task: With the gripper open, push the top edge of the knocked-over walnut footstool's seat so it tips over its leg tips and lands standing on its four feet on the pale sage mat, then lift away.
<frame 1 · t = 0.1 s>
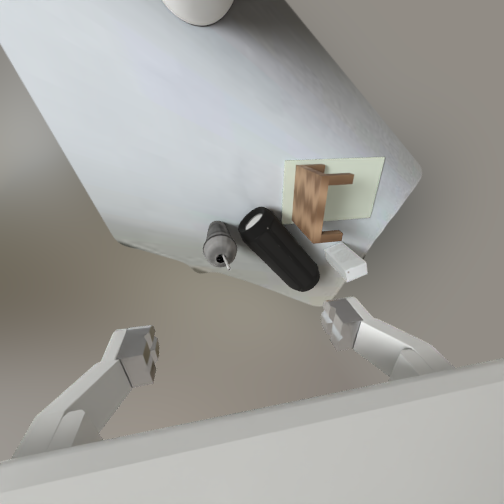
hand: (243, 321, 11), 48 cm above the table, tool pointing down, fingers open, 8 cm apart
beverage cup: (217, 228, 60), on the table
portable speaker: (276, 243, 65), on the table
mat: (330, 191, 60), on the table
stool: (306, 193, 59), resting on mat
skincare box: (333, 250, 70), on the table
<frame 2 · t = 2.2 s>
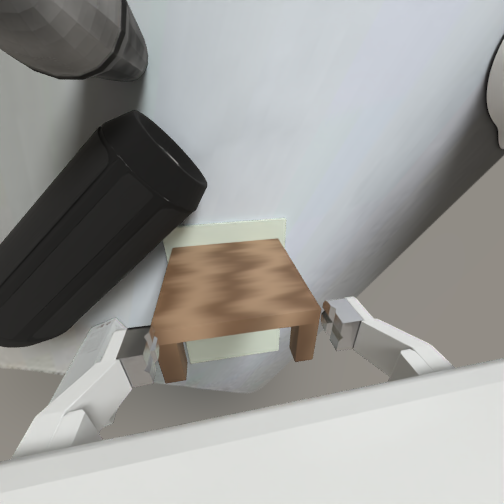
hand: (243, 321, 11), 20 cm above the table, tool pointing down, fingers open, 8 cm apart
beverage cup: (121, 50, 21), on the table
portable speaker: (106, 221, 28), on the table
mat: (231, 300, 36), on the table
stool: (228, 263, 32), resting on mat
skincare box: (116, 333, 36), on the table
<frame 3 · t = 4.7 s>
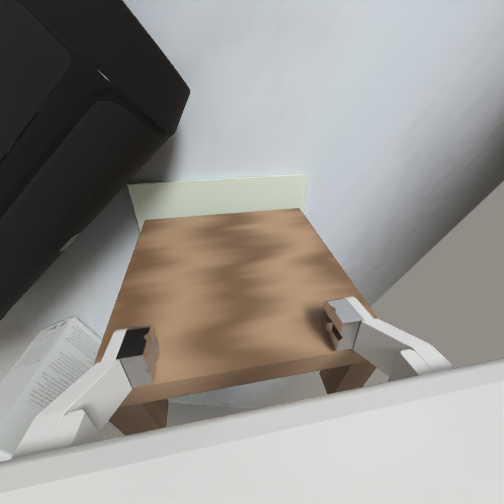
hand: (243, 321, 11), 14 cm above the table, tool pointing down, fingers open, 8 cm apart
portable speaker: (46, 172, 19), on the table
mat: (231, 291, 27), on the table
stool: (227, 242, 23), point 1 cm above the table, tilted 10°, touching gripper, mat
skincare box: (78, 337, 27), on the table
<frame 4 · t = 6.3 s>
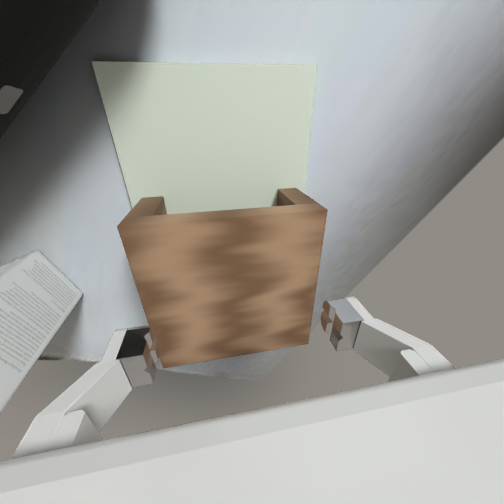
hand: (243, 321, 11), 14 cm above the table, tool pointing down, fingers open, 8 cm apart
mat: (225, 227, 23), on the table
stool: (225, 203, 18), point 4 cm above the table, tilted 90°, touching mat
skincare box: (45, 280, 23), on the table
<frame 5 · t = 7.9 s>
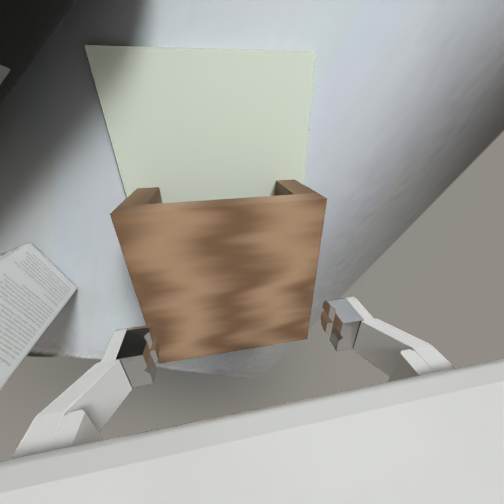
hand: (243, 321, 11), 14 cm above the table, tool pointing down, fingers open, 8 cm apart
mat: (222, 220, 23), on the table
stool: (222, 193, 18), point 4 cm above the table, tilted 90°, touching mat
skincare box: (38, 273, 22), on the table
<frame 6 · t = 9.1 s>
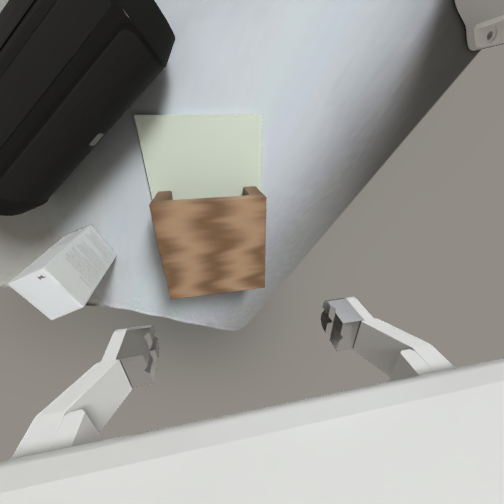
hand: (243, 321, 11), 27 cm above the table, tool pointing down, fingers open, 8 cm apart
portable speaker: (76, 102, 27), on the table
mat: (210, 212, 36), on the table
stool: (209, 194, 31), point 4 cm above the table, tilted 90°, touching mat
skincare box: (93, 245, 35), on the table
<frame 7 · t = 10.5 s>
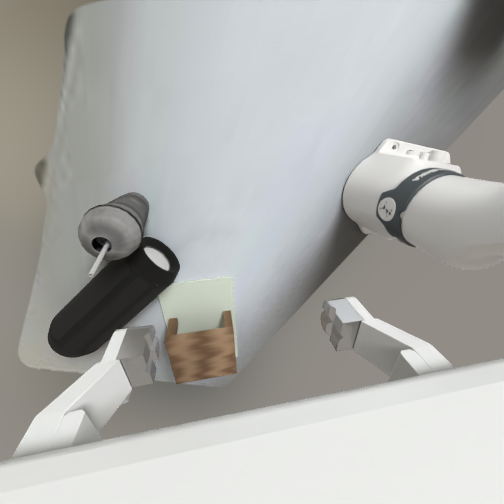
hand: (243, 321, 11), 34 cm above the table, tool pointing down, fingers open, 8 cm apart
beverage cup: (135, 205, 40), on the table
portable speaker: (122, 281, 47), on the table
mat: (202, 324, 56), on the table
stool: (200, 325, 51), point 4 cm above the table, tilted 90°, touching mat
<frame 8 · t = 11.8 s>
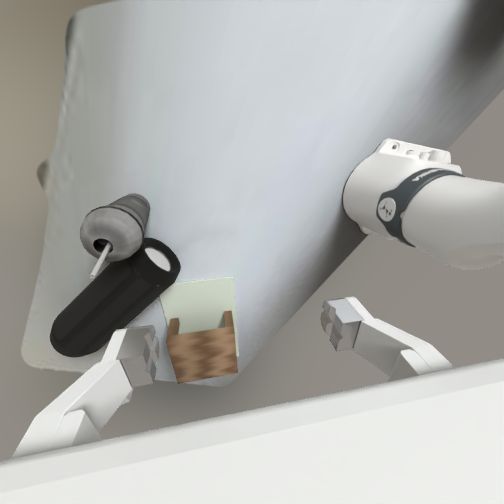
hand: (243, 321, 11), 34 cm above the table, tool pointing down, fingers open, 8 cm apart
beverage cup: (136, 206, 41), on the table
portable speaker: (124, 282, 47), on the table
mat: (203, 324, 56), on the table
stool: (201, 325, 51), point 4 cm above the table, tilted 90°, touching mat
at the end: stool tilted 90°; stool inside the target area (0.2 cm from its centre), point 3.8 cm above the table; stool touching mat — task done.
